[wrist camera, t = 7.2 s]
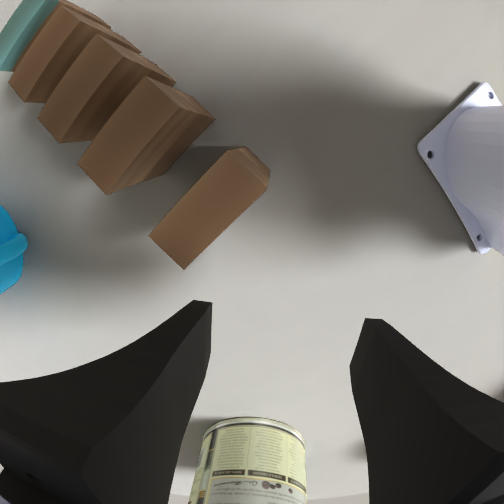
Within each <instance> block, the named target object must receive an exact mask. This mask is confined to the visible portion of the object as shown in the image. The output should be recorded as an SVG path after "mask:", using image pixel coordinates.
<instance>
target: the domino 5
mask: <svg viewBox="0 0 504 504" xmlns="http://www.w3.org/2000/svg"><path fill="white" fill-rule="evenodd" d="M269 176H270V170H269V169H268V168H267V167H266V166H265V165H264V164H263V163H262V162H261V161H260V160H259V159H258V158H257V157H256V156H255V155H254V154H253V153H252V152H251V151H250V150H249V149H248V148H247V147H241V148H237V149H232V150H227V151H226V152H225V153H224V154H223V155H222V156H221V157H220V158H219V159H218V160H217V161H216V162H215V163H214V164H213V165H212V166H211V167H210V169H209V170H208V171H207V172H206V173H205V174H204V175H203V176H202V177H201V178H200V179H199V180H198V181H197V182H196V183H195V184H194V185H193V186H192V187H191V188H190V190H189V191H188V192H187V193H186V194H185V195H184V196H183V197H182V198H181V199H180V200H179V202H178V203H177V204H176V205H175V206H174V207H173V208H172V209H171V210H170V211H169V213H168V214H167V215H166V216H165V217H164V218H163V219H162V220H161V222H160V223H159V224H158V225H157V226H156V227H155V228H154V230H153V231H152V232H151V233H150V234H149V235H148V236H149V237H150V238H151V239H152V240H153V241H154V242H155V243H156V244H157V245H158V246H159V247H160V248H161V249H162V250H163V251H165V252H166V253H167V254H168V255H169V256H170V257H171V258H172V259H173V260H174V261H175V262H176V263H177V264H178V265H179V266H180V267H181V268H182V269H183V270H184V269H185V268H186V267H187V266H188V265H189V264H190V263H191V262H192V261H193V260H194V259H195V258H196V257H197V256H198V255H199V254H200V253H201V252H202V251H203V250H205V249H206V248H207V247H208V246H209V245H210V244H211V243H212V242H213V241H214V240H215V239H216V238H217V237H218V236H219V235H220V234H221V233H222V232H223V231H224V230H225V229H226V228H227V227H228V226H229V225H230V224H231V223H232V222H233V221H234V220H235V219H236V218H237V217H239V216H240V215H241V214H242V213H243V212H244V211H245V210H246V209H247V208H248V207H249V206H250V205H251V204H252V203H253V202H254V201H255V200H256V199H257V198H259V197H260V196H261V195H262V194H263V193H264V192H265V191H266V190H267V186H268V181H269Z"/></svg>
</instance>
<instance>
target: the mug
mask: <svg viewBox="0 0 504 504" xmlns="http://www.w3.org/2000/svg"><path fill="white" fill-rule="evenodd" d="M27 246H28V241H27V238H26V237H25V235H24V234H22V233H18V231H17V229H16V226H15V224H14V222H13V221H12V219H11V217H10V216H9V214H8V212H7V211H6V210H5V209H4V208H3V207H2V206H1V205H0V294H1V293H3V292H4V291H5V290H7V289H8V288H10V287H11V286H12V285H14V284H15V283H16V282H17V281H18V280H19V278H20V277H21V274H22V269H23V252H24V251H25V250H26V249H27Z"/></svg>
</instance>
